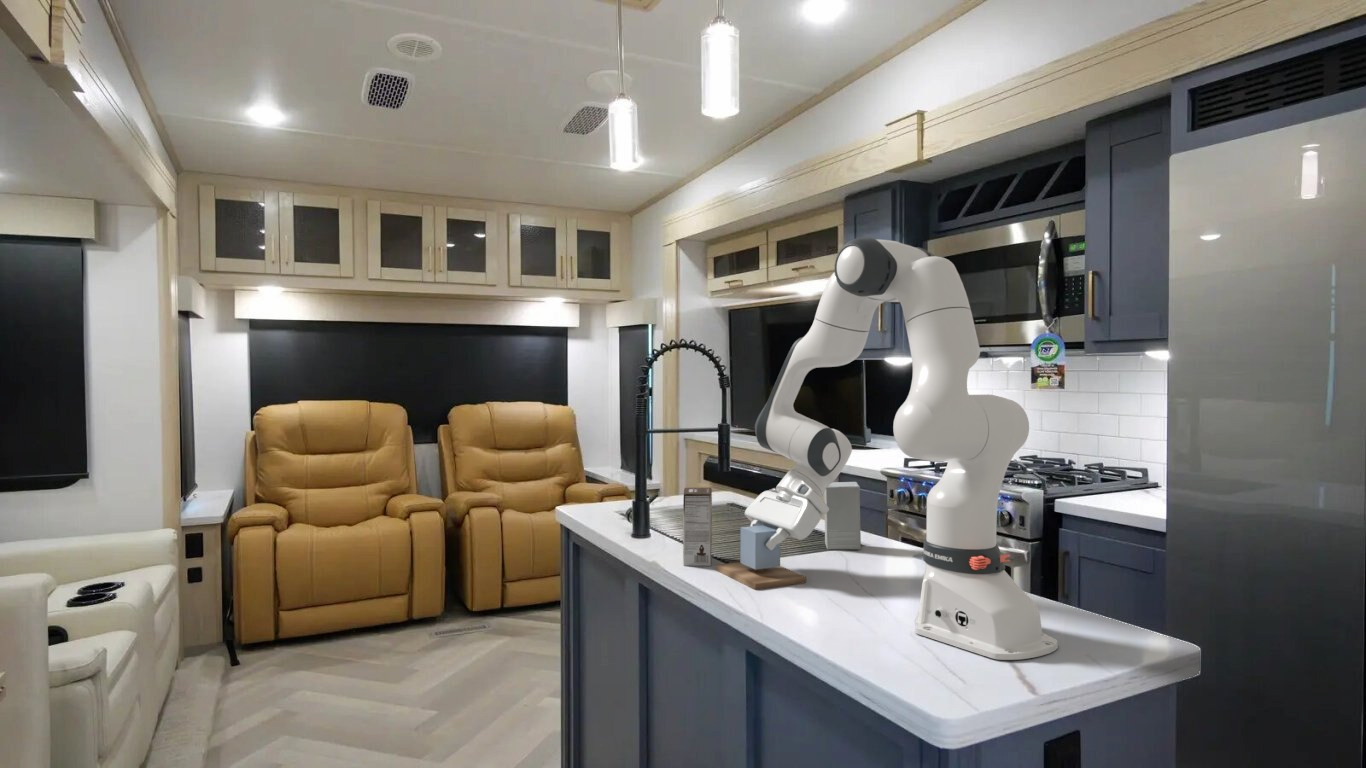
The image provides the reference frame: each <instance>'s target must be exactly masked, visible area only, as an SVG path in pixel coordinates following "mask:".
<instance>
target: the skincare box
mask: <svg viewBox="0 0 1366 768" xmlns="http://www.w3.org/2000/svg"><path fill="white" fill-rule="evenodd" d="M860 491H861V486H860V485H859V484H858V482H857V481H842V482H841V481H840V482H839V481H836V482H835V481H833V482H832V483H831V484H829V485H828V486H827V487H826V489H825V491H824V494H823V501H824V502H825V504H826V505H827V506H828V508H829V511H828V512H827V513H826V514H825V515H824V543H825V546H826V549H827V550H861V548H862V547H861V545H862V544H861V543H862V539H861V537H862V536H861V496H860V495H861V492H860Z"/></svg>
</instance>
